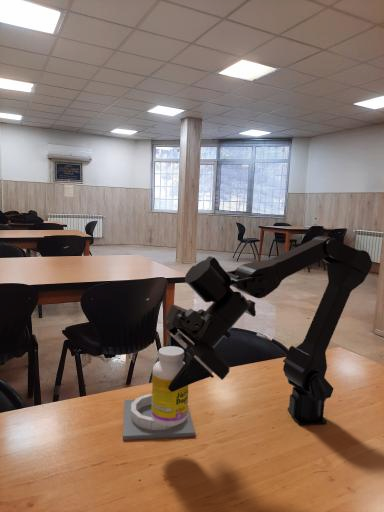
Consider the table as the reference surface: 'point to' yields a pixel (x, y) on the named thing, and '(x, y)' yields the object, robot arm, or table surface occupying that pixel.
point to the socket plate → (153, 434)
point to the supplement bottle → (163, 400)
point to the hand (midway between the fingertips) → (163, 381)
